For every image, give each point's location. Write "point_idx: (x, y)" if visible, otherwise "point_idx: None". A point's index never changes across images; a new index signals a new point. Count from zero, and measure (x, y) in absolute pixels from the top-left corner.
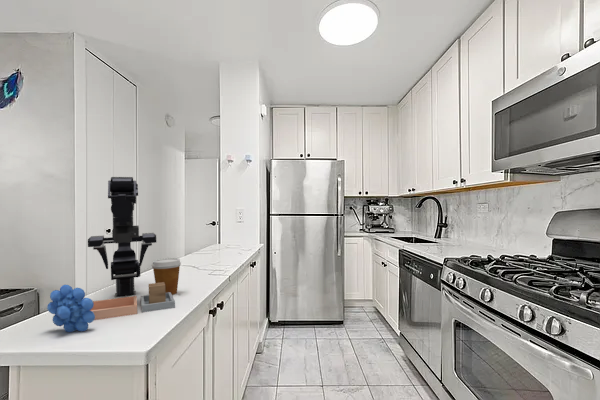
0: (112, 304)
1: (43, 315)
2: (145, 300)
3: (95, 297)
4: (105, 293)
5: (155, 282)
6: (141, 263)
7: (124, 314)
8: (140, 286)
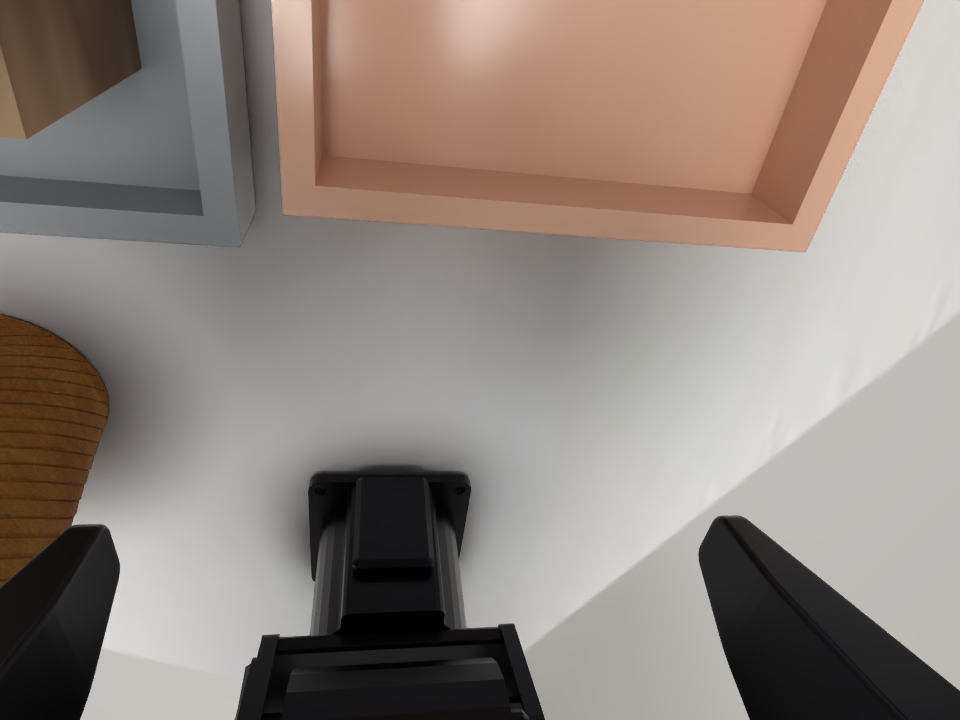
0: (534, 182)
1: (954, 305)
2: (194, 194)
3: (576, 558)
4: (507, 613)
5: (62, 489)
6: (30, 564)
7: None
8: None
